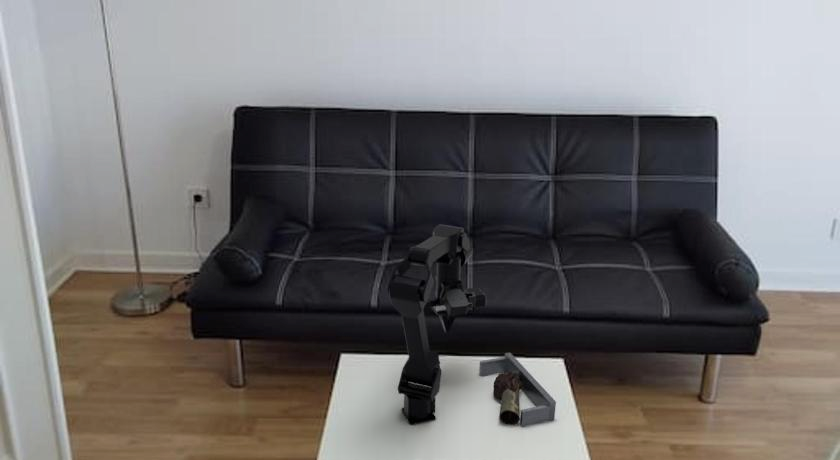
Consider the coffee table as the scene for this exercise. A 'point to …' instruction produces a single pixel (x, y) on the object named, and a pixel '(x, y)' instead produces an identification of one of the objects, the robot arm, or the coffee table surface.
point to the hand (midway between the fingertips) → (446, 331)
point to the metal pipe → (508, 396)
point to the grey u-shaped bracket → (523, 389)
